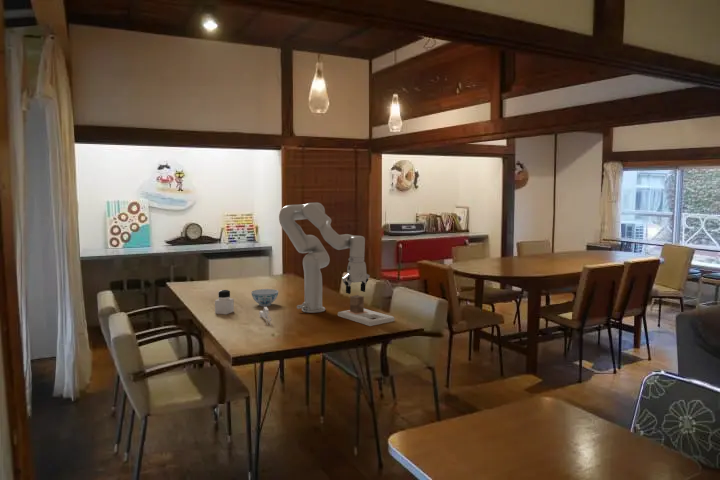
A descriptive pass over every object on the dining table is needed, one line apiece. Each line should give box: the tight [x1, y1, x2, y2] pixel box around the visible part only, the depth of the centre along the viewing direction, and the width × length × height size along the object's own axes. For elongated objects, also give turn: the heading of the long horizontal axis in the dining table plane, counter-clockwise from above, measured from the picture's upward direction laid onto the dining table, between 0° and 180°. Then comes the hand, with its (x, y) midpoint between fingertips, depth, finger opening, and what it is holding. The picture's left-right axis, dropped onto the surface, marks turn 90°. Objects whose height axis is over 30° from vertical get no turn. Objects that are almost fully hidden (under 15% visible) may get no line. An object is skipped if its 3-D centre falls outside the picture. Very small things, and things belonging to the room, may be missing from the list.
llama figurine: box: [258, 306, 272, 326], centre depth 266 cm, size 2×11×18 cm
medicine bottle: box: [214, 289, 235, 315], centre depth 283 cm, size 7×7×12 cm
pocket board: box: [337, 308, 395, 327], centre depth 273 cm, size 16×26×2 cm, turn 39°
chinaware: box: [251, 288, 279, 307], centre depth 302 cm, size 15×15×8 cm
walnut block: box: [349, 294, 365, 313], centre depth 278 cm, size 5×5×8 cm
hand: (355, 292), depth 277 cm, fingers open, 9 cm apart
